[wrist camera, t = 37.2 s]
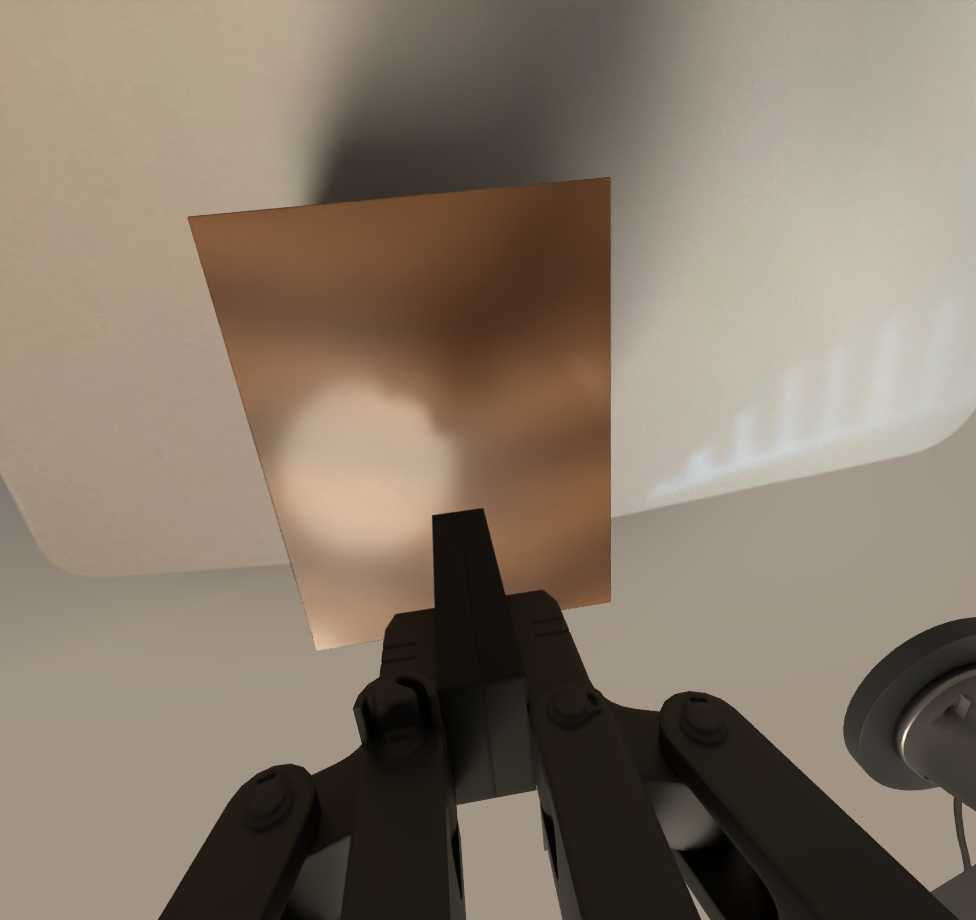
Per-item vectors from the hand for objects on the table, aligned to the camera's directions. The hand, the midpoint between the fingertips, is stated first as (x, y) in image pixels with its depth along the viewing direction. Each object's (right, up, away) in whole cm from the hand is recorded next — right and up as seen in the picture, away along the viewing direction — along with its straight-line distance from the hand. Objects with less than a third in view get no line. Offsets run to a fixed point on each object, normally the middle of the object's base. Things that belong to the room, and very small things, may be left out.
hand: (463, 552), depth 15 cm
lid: (-1, +4, +7) cm, 8 cm away
